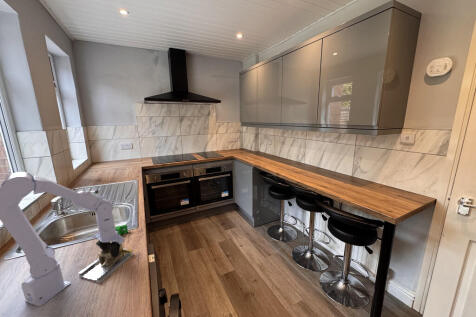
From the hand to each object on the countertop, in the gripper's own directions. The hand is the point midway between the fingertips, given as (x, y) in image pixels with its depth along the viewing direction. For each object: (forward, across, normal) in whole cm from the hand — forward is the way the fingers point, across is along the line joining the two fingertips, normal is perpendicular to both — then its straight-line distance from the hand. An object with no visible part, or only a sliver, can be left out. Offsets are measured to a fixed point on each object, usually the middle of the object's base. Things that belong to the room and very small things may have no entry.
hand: (112, 255), depth 83 cm
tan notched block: (+2, 0, 0) cm, 2 cm away
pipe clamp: (+3, +16, -15) cm, 22 cm away
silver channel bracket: (+3, 0, +2) cm, 4 cm away
